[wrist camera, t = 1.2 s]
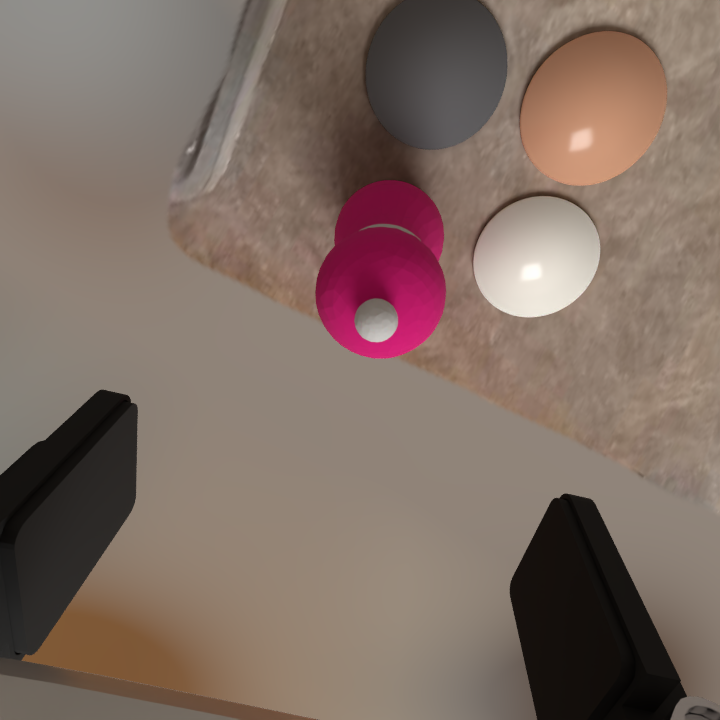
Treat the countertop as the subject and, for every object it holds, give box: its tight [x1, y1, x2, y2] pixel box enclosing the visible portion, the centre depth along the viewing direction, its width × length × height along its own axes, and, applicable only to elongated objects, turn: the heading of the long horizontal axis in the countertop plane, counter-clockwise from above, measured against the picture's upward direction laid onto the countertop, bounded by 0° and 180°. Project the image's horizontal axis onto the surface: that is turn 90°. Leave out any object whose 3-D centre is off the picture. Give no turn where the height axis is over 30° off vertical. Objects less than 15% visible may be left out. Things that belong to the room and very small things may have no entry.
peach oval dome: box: [520, 31, 667, 186], centre depth 33 cm, size 9×9×1 cm
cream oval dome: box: [473, 196, 600, 317], centre depth 38 cm, size 9×9×1 cm
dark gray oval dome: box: [366, 0, 507, 150], centre depth 33 cm, size 9×9×1 cm
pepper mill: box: [315, 180, 446, 358], centre depth 29 cm, size 7×7×20 cm
